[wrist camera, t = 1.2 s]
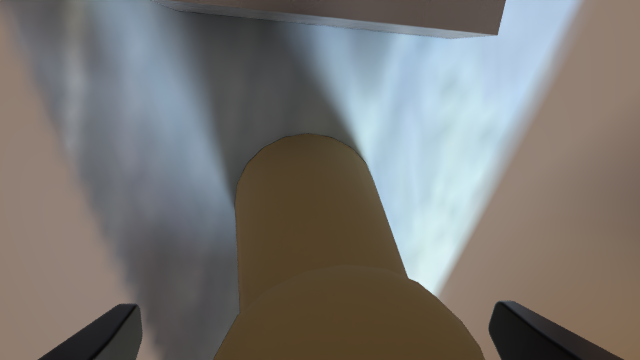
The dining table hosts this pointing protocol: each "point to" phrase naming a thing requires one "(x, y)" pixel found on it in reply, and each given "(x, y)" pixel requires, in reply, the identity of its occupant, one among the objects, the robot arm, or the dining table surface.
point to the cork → (327, 266)
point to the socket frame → (366, 14)
